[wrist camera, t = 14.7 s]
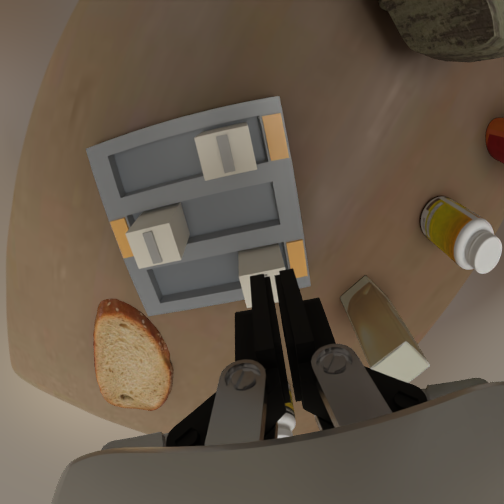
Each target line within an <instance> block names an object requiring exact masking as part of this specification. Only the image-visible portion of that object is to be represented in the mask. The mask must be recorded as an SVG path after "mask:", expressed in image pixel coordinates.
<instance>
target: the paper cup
mask: <svg viewBox="0 0 504 504" xmlns="http://www.w3.org/2000/svg"><path fill="white" fill-rule="evenodd" d="M486 145H487V149H488V151H489V153H490V155H491V156H492V157H493V158H494V159H496V160H498V161H500V162H502V163H504V118H495V119H493V120H492V121H491V122H490V123H489V125H488V128H487V131H486Z"/></svg>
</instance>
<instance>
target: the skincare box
mask: <svg viewBox="0 0 504 504" xmlns="http://www.w3.org/2000/svg"><path fill="white" fill-rule="evenodd" d="M340 299H341V302H342V304H343V306H344V308H345V310H346V313H347V315H348V317H349V319H350V322H351V324H352V326H353V329H354V331H355V333H356V336H357V338H358V340H359V343H360V345H361V347H362V350H363V352H364V354H365V357H366V359H367V362H368V364H369V367H370V369H372V370H375V371H378V372H380V373H383V374H385V375H388V376H391V377H393V378H396V379H399V380H401V381H404V382H407V383H409V382H410V381H412V380H413V379H414V378H415V377H417V376H418V375H419V374H421V373H422V372H423V371H424V370H425V369H427V368H428V367H429V366H430V365H429V363H428V361H427V360H426V358H425V356H424V355H423V353H422V351H421V349H420V348H419V346H418V345H417V343H416V341H415V340H414V338H413V336H412V335H411V333H410V331H409V330H408V328H407V327H406V325H405V323H404V322H403V320H402V319H401V317H400V315H399V314H398V312H397V311H396V309H395V307H394V306H393V304H392V303H391V301H390V300H389V299H388V298H387V296H386V295H385V294H384V293H383V292H382V291H381V290H380V289H379V288H378V287H377V286H376V285H375V284H374V283H373V282H372V281H371V280H370V279H369V278H368V277H367V276H364V277H363V278H362V279H361V280H359V281H358V282H357V283H356V284H355V285H354V286H352V287H351V288H350V289H349V290H348V291H347V292H346V293H344V294H343V295H342V296H341V297H340Z"/></svg>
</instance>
